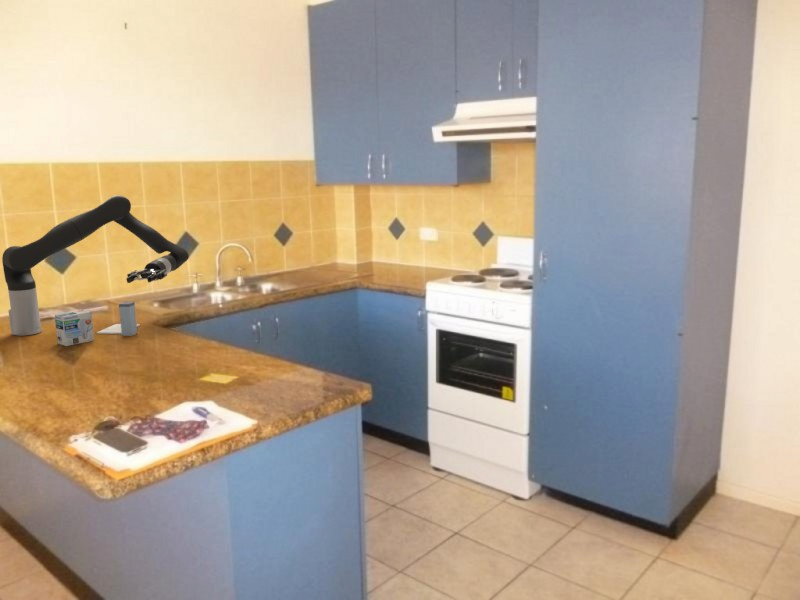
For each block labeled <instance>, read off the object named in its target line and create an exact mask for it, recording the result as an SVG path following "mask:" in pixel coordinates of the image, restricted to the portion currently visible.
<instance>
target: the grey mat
mask: <svg viewBox="0 0 800 600" xmlns="http://www.w3.org/2000/svg"><path fill="white" fill-rule="evenodd" d="M136 325H137V328H139V327H140V326H141V324H140V323H136ZM96 335H122V332H121V323H115V324H113V325H111V326H108V327H106V328H103V329H101V330H99V331H97V332H96Z"/></svg>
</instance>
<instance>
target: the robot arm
mask: <svg viewBox="0 0 800 600" xmlns="http://www.w3.org/2000/svg"><path fill="white" fill-rule="evenodd" d="M131 208H132V203H131V201H130V200H129V198H127V197H126V196H124V195H112V196H111V197H110V198H108V199H106V200H105V201H104V202H103V203H101V204H99V205H98V206H97V207H95V208H92V209H90V210H88V211H85V212H83V213H80V214H76V215H75V216H73V217H70V218H68V219H66V220H64V221H62V222H60V223H58V224H56V226H54V227H52V228H51V229H49V231H47V232H46V233H45V234H44V235H43V236H42V237H40V238H39V239H36V240H34V241H33V242H30V243H28V244H26V245H23V246H19V245H12V246H9V247H8V248H6V249H5V250H4V251H3V253H2V257H1V261H2V268H3V275H4V279H5V283H6V285H7V289H8V298H9V299H8V300H9V306H10V309H9V310H8V318H9V326H10V334H11V335H13V336H17V337H19V336H20V337H21V336H22V337H23V336H31V335H35V334H39V333H41V332H42V327H41V317H40V316H41V315H40V308H39V302H38V294H37V293H38V292H37V286H36V280H35V279H34V277H33V274H32V268H34V267H35V266H37V265H38V264H40V263H41V262H43V261H44V260H46V259H47V258H49V257H50V256H52V255H54V254H56V253H59V252H61V251H64V250H65V249H67V248H69V247H72V246H73V245H75V244H77V243H79V242H81V241H82V240H84V239H86V238H87V237H89V236H91V235H92V234H94V233H95V232H97V230H99V229H100V228H102V227H104V226H105V225H107V224H109V223H111V222H115V223H116V224H118V225H120V226H121V227H123V228H124V229H126V230H127V231H128V232H130V233H131V234H133V235H134V236H135V237H137V238H138V239H139V240H141V241H142V242H143V243H144V244H145V245H146V246H148V247H149V248H150V249H151V250H153V251H154V252H155V254H159V255H160V254H163V253H166V252H168V254H166V255H163V256H161V257H160V258H159V257H158V258H155V259H154V260H152V261H150V262H148V263H147V264H145V266H144V268H143V269H142V270H134V271H131V272H129V273H127V274H126V276H127V277H126V279H125V280H126V282H127V284H130V283H133V282H135V281H142V280H146V281H147V282H148V283H152V282H156V281H158V280H163V279H164V278H166V277H167V276H168V274H169V273H171V272H174V271H176V270H177V269H179V268H180V267H181V266H182V265H184V264H185V263H186V262H187V261H188V260H189V258H190V256H189V255H190V254H189V253H188V251H187V250H186V249H185V248H184V247H182V246H180V245H178V244H176V243H174V242H172V241H171V240H168V239H167V238H166V237H165V236H164V235H162V234H161V233H160V232H159V231H157V230H156V229H154V228H153V227H151V226H149V225H148V224H146V223H144V222H142V220H139V219H138V218H136V217H135V216H134V215H133V214H132V213H131Z"/></svg>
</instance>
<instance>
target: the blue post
mask: <svg viewBox="0 0 800 600" xmlns="http://www.w3.org/2000/svg"><path fill="white" fill-rule="evenodd" d="M135 305H136V304H135V301H128V302H127V301H123V302H120V303H119V304H118V308H119V309H118V310H119V317H120V318H119V320H120V324H121V332H122V334H121V336H123V337H124V336H125V337H126V336H130V337H131V336H133V337H134V335H137V334H138V327H137V325H136V324H137V316H136V315H137V313H136V306H135ZM136 333H137V334H136Z"/></svg>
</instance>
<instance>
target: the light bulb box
mask: <svg viewBox="0 0 800 600" xmlns="http://www.w3.org/2000/svg"><path fill="white" fill-rule="evenodd" d="M54 320H55V321H54V323H55V330H56V341H57V344H58V345H61V346H65V347H69V346H75V345H78V344H84V343H87V342H88V343H89V342H93V341H95V334H94V326H93V316H92V311H88V310H84V309H80V310H73V311H68V312H63V313H57V314H56V313H55V314H54Z"/></svg>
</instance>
